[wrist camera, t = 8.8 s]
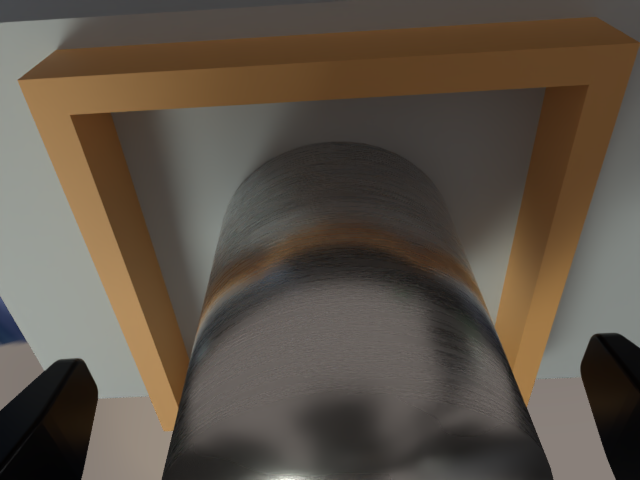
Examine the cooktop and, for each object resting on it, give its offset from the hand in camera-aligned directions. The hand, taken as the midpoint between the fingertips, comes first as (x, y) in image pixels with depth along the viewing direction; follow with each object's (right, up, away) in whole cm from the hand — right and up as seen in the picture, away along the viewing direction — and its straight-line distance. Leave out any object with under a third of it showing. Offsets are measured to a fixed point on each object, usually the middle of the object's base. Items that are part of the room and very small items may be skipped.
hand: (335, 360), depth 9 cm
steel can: (0, +2, +3) cm, 3 cm away
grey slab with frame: (0, +3, +5) cm, 6 cm away
